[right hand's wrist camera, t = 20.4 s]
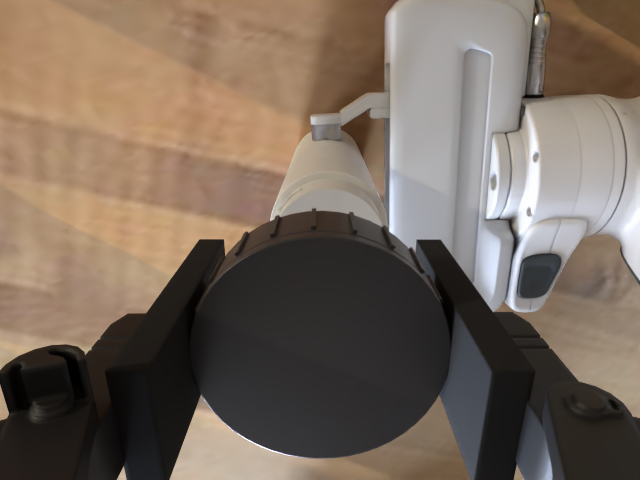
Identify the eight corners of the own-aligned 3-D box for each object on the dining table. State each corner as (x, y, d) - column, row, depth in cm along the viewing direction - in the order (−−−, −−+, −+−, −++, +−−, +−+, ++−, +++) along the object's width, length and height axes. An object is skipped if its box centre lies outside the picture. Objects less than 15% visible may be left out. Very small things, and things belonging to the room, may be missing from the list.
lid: (469, 355, 12) (495, 403, 11) (279, 437, 14) (273, 493, 12) (372, 163, 11) (383, 181, 9) (160, 275, 12) (130, 313, 10)
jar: (281, 165, 34) (239, 252, 18) (322, 112, 33) (318, 152, 16) (332, 204, 35) (338, 322, 19) (373, 154, 34) (420, 233, 17)
